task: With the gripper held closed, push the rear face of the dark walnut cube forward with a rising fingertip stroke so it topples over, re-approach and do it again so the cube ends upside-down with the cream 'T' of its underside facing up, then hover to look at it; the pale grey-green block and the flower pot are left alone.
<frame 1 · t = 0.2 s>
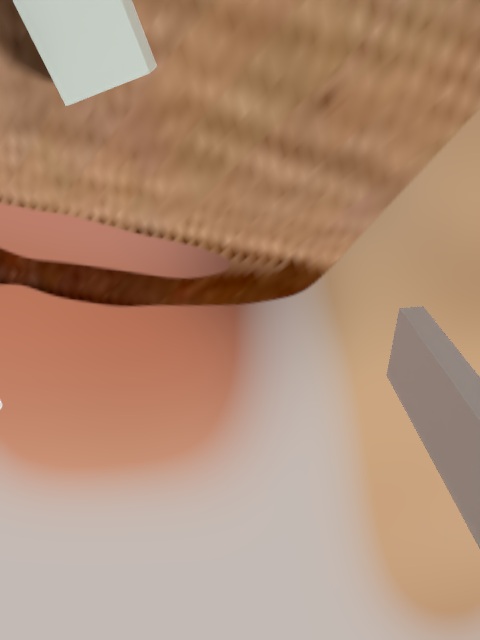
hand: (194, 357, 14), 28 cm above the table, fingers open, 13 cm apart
grey-green block: (102, 36, 33), on the table
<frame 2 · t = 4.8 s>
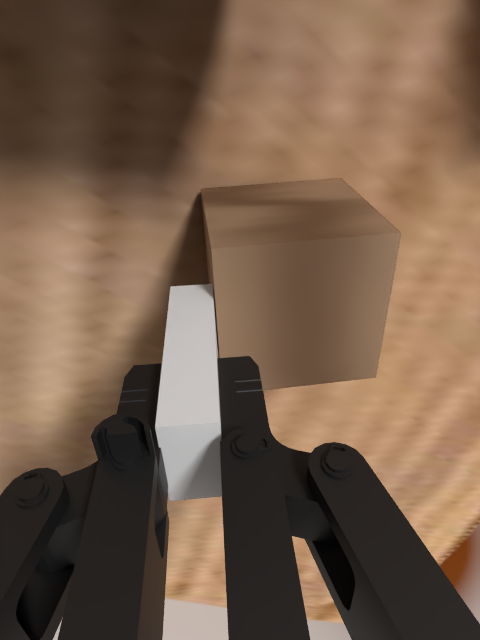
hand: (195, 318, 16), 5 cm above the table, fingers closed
walnut block: (271, 249, 20), on the table, touching gripper
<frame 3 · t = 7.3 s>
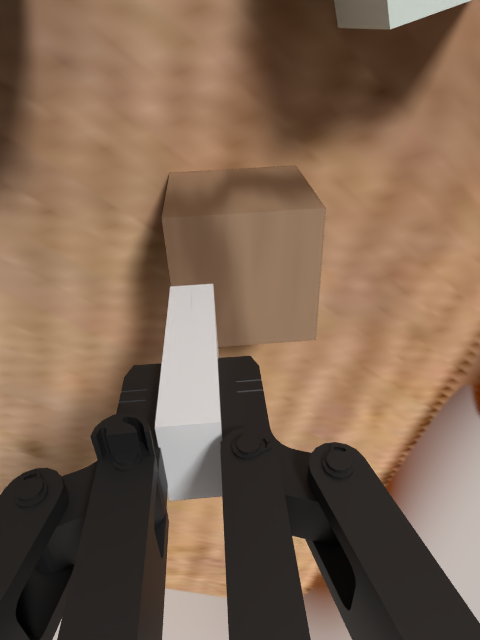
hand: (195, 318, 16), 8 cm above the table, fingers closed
walnut block: (174, 257, 20), point 3 cm above the table, tilted 90°
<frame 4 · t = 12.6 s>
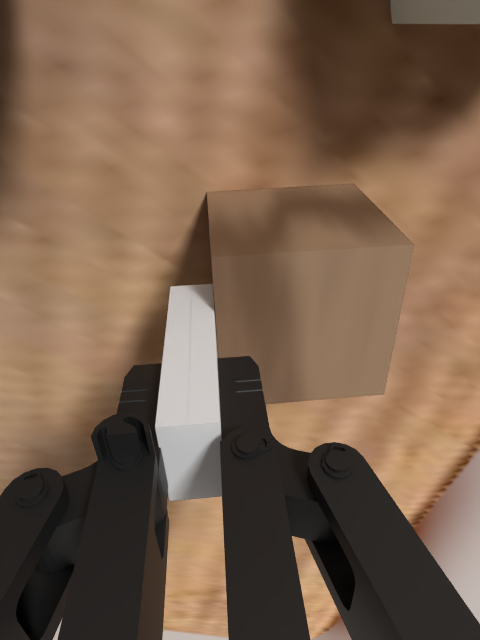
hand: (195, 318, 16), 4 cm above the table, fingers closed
walnut block: (214, 294, 17), point 3 cm above the table, tilted 90°, touching gripper
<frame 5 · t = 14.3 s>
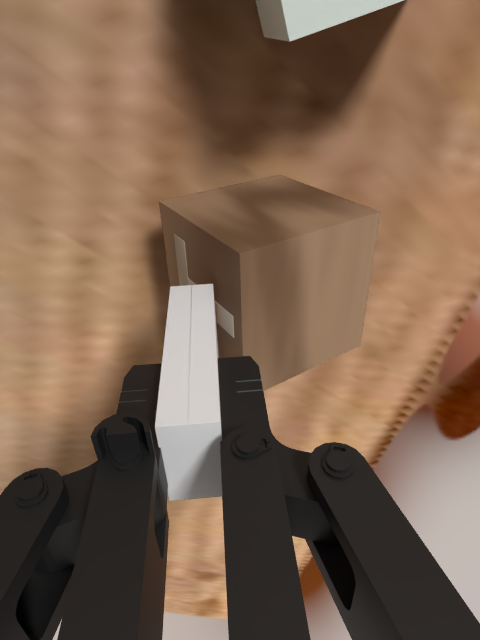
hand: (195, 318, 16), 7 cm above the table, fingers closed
walnut block: (200, 297, 17), point 5 cm above the table, tilted 118°, touching gripper
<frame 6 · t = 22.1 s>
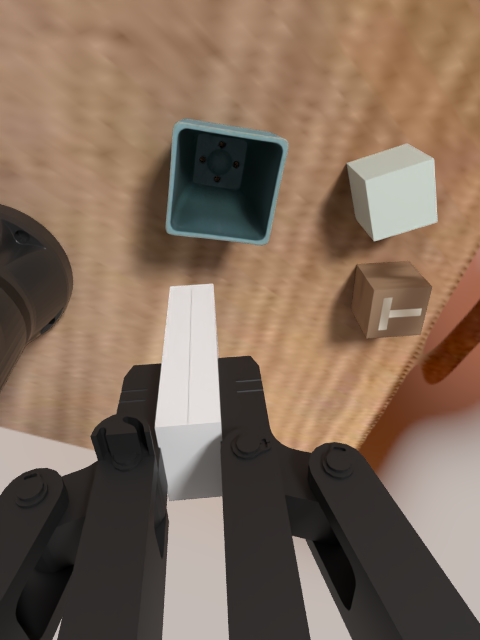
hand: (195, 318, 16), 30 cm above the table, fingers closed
walnut block: (398, 313, 47), point 6 cm above the table, tilted 180°
flower pot: (220, 160, 43), on the table
grey-green block: (380, 182, 45), on the table
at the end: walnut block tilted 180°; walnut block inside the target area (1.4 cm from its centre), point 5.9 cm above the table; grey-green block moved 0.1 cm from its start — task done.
